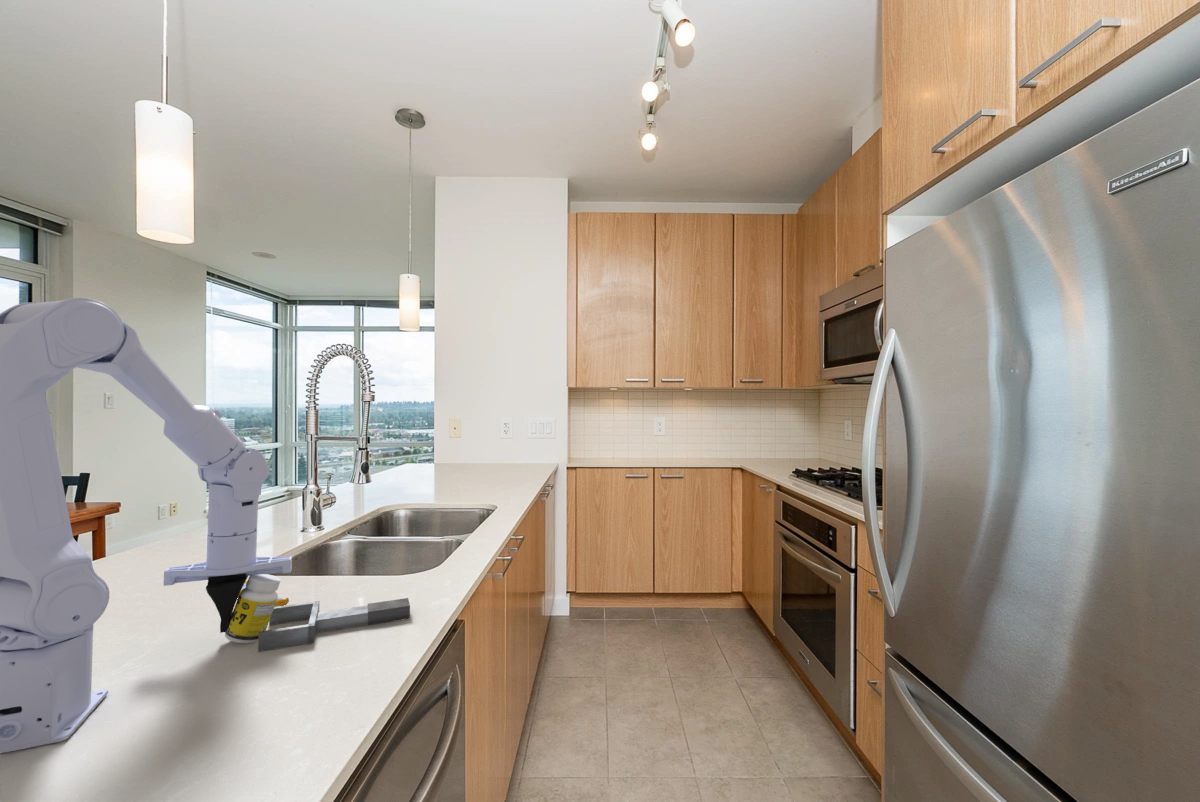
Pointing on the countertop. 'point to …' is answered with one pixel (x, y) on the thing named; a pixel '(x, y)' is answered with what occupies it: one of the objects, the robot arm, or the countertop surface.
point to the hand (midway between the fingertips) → (229, 629)
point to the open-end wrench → (325, 621)
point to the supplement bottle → (253, 608)
